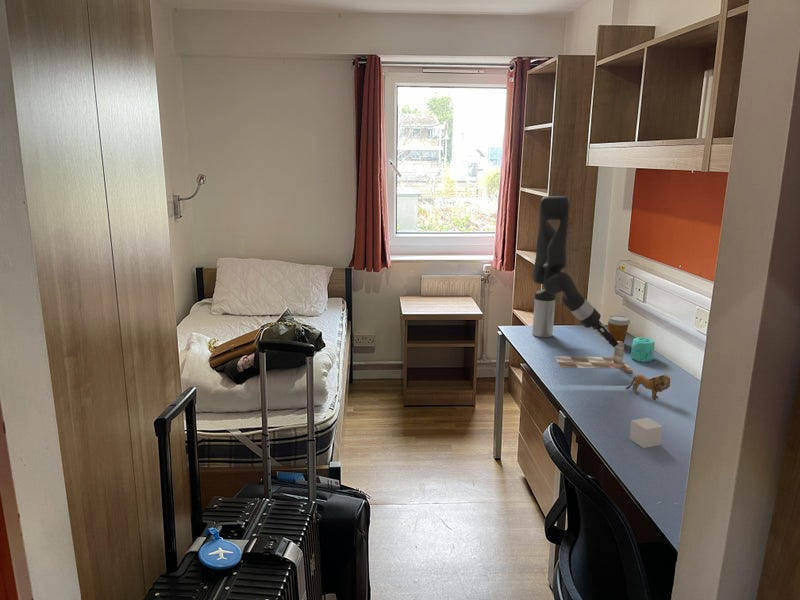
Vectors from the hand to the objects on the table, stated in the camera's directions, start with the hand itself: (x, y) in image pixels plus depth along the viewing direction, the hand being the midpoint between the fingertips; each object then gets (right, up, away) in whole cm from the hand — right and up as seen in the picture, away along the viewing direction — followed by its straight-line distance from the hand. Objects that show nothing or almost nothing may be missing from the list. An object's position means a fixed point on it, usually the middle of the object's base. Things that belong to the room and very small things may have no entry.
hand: (612, 341), depth 228 cm
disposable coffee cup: (+14, -3, +33) cm, 36 cm away
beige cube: (-10, -26, -55) cm, 62 cm away
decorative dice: (+17, -8, +14) cm, 24 cm away
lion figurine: (+4, -17, -22) cm, 29 cm away
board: (-7, -10, +6) cm, 13 cm away
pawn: (+3, -9, +2) cm, 10 cm away
